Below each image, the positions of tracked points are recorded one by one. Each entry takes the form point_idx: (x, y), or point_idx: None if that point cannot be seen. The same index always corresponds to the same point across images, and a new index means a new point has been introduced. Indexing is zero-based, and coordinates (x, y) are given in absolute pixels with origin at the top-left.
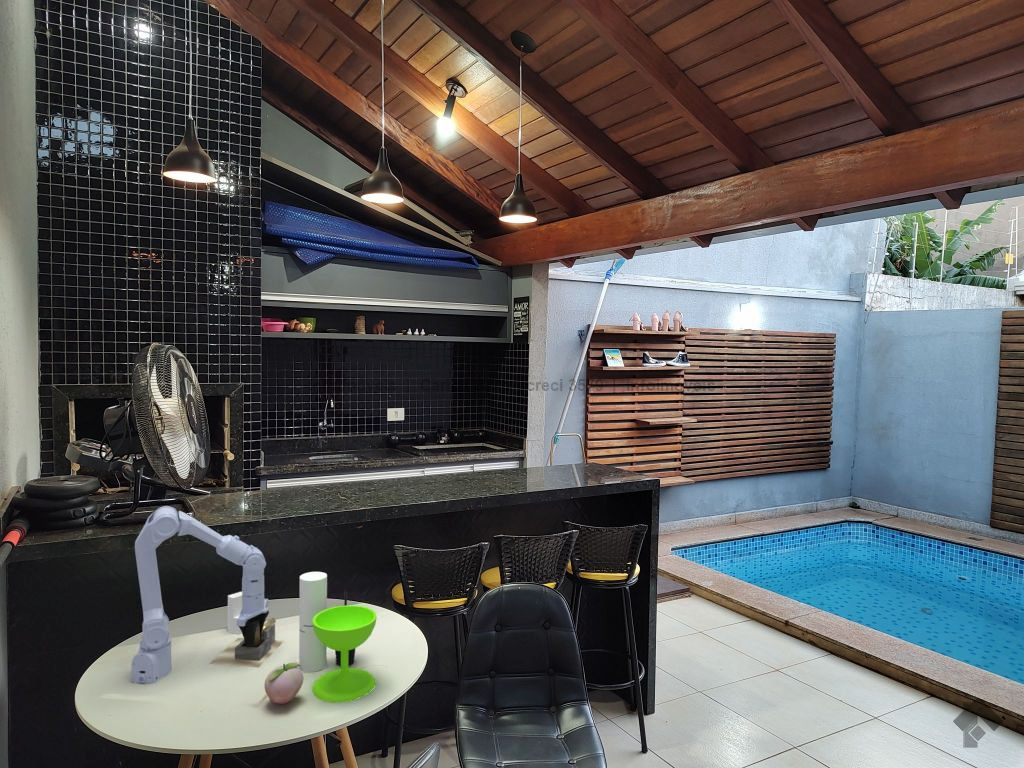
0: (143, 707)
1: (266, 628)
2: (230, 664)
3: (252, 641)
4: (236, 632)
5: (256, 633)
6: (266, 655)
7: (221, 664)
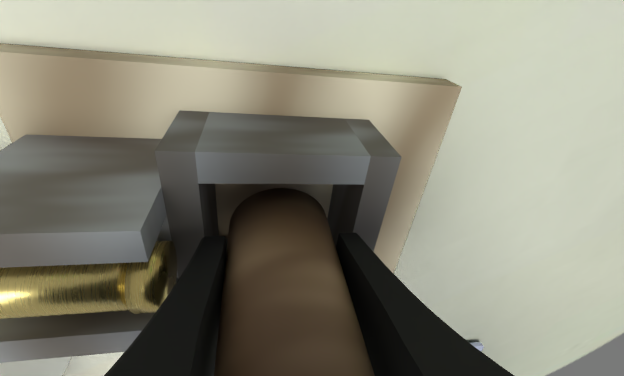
0: (574, 316)
1: (37, 267)
2: (395, 242)
3: (371, 253)
4: (53, 364)
5: (331, 292)
6: (289, 102)
7: (392, 272)
